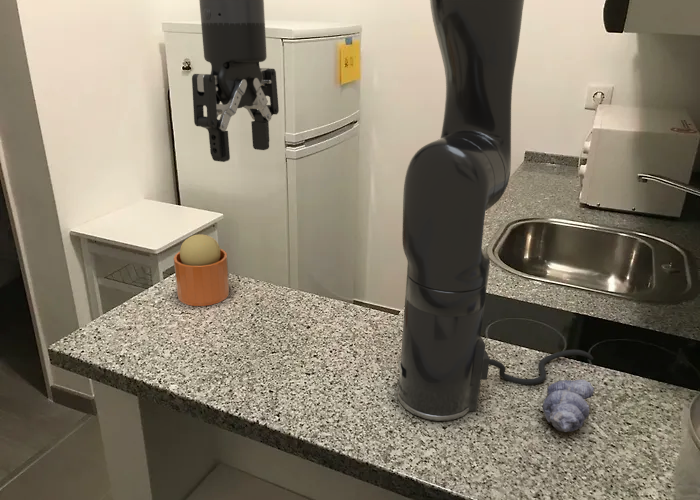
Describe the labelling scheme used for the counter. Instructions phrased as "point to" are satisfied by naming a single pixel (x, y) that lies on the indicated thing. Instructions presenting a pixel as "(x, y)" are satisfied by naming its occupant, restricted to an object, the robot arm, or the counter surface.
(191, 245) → the light bulb
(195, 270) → the flower pot
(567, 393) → the seashell
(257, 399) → the counter surface
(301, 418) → the counter surface
